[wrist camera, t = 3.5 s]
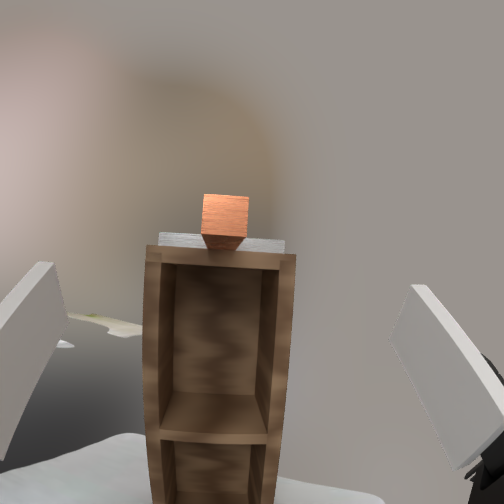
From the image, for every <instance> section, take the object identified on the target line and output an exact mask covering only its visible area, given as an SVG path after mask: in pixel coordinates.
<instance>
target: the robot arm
mask: <svg viewBox="0 0 504 504" xmlns="http://www.w3.org/2000/svg"><path fill="white" fill-rule="evenodd" d="M68 324H69V321H68V317H67V313H66V309H65V306H64V302H63V298H62V294H61V290H60V285H59V281H58V276H57V272H56V267H55V263H51V262H42V261H38V262H37V263H36V264H35V265H34V266H33V267H32V268H31V270H30V271H29V272H28V273H27V274H26V275H25V276H24V277H23V278H22V279H21V280H20V282H19V283H18V284H17V285H16V286H15V287H14V288H13V290H12V291H11V292H10V293H9V294H8V295H7V296H6V298H5V299H4V300H3V301H2V302H1V303H0V460H1V461H3V459H4V457H5V454H6V452H7V449H8V447H9V444H10V442H11V439H12V437H13V434H14V432H15V430H16V427H17V425H18V423H19V420H20V418H21V416H22V414H23V411H24V409H25V407H26V405H27V403H28V400H29V398H30V396H31V394H32V392H33V390H34V388H35V386H36V384H37V382H38V380H39V378H40V376H41V374H42V372H43V370H44V368H45V366H46V364H47V362H48V360H49V358H50V357H51V355H52V353H53V351H54V349H55V347H56V346H57V344H58V342H59V340H60V338H61V336H62V335H63V333H64V331H65V329H66V328H67V326H68ZM388 340H389V342H390V344H391V346H392V348H393V349H394V351H395V353H396V355H397V357H398V359H399V361H400V362H401V364H402V366H403V368H404V370H405V372H406V374H407V376H408V378H409V380H410V382H411V384H412V385H413V387H414V389H415V391H416V393H417V395H418V397H419V399H420V401H421V403H422V405H423V408H424V409H425V412H426V414H427V416H428V418H429V420H430V422H431V424H432V426H433V428H434V430H435V433H436V435H437V437H438V439H439V441H440V444H441V446H442V448H443V450H444V453H445V455H446V457H447V459H448V462H449V464H450V466H451V469H452V471H455V470H458V469H460V468H463V467H465V466H467V465H469V464H470V463H471V462H473V461H474V460H475V459H476V458H477V457H478V456H479V455H481V457H482V461H480V462H479V463H478V464H477V465H476V466H475V467H474V468H472V469H471V470H470V471H469V472H468V473H467V474H466V476H465V479H468V478H469V477H470V476H471V475H472V474H474V473H475V472H476V474H475V475H474V476H473V477H472V478H471V479H470V481H472V482H474V483H473V487H472V490H471V494H470V498H469V501H468V504H504V379H503V378H502V376H501V375H500V374H498V371H497V369H496V368H495V366H494V365H493V364H492V363H491V361H490V360H488V359H487V358H486V357H485V356H484V355H483V354H481V353H480V352H479V351H478V349H477V348H476V347H475V345H474V344H473V343H472V341H471V340H470V339H469V337H468V336H467V335H466V334H465V332H464V331H463V330H462V328H461V327H460V326H459V325H458V323H457V322H456V321H455V320H454V318H453V317H452V316H451V315H450V313H449V312H448V311H447V310H446V309H445V308H444V306H443V305H442V304H441V302H440V301H439V300H438V299H437V298H436V296H435V295H434V294H433V293H432V292H431V291H430V289H429V288H428V287H427V286H426V285H410V288H409V290H408V293H407V295H406V298H405V301H404V304H403V306H402V308H401V311H400V313H399V316H398V318H397V320H396V323H395V325H394V328H393V330H392V332H391V334H390V337H389V339H388Z"/></svg>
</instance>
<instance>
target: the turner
mask: <svg viewBox="0 0 504 504" xmlns="http://www.w3.org/2000/svg"><path fill="white" fill-rule="evenodd" d="M248 203H249V197H241V196H240V197H239V196H227V195H212V194H204V204H203V216H202V228H201V235H197V234H182V233H181V234H180V233H165V232H159V243H158V246H174V247H189V248H205V249H220V250H235V251H251V252H266V253H282V254H284V246H285V241H284V240H272V239H257V238H246V236H247V235H246V234H247V218H248Z"/></svg>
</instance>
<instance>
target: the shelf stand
mask: <svg viewBox="0 0 504 504" xmlns="http://www.w3.org/2000/svg"><path fill="white" fill-rule="evenodd" d="M295 268H296V255H295V254H282V253H266V252H251V251H235V250H220V249H205V248H189V247H174V246H158V245H147V246H146V260H145V276H144V298H143V334H142V335H143V337H142V339H143V341H142V362H143V400H144V418H145V419H144V420H145V433H146V434H145V435H146V447H147V458H148V468H149V477H150V485H151V493H152V500H153V504H273V503H274V496H275V488H276V481H277V473H278V465H279V464H278V463H279V457H280V448H281V439H282V430H283V420H284V412H285V402H286V390H287V380H288V369H289V357H290V345H291V331H292V316H293V302H294V286H295Z"/></svg>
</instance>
